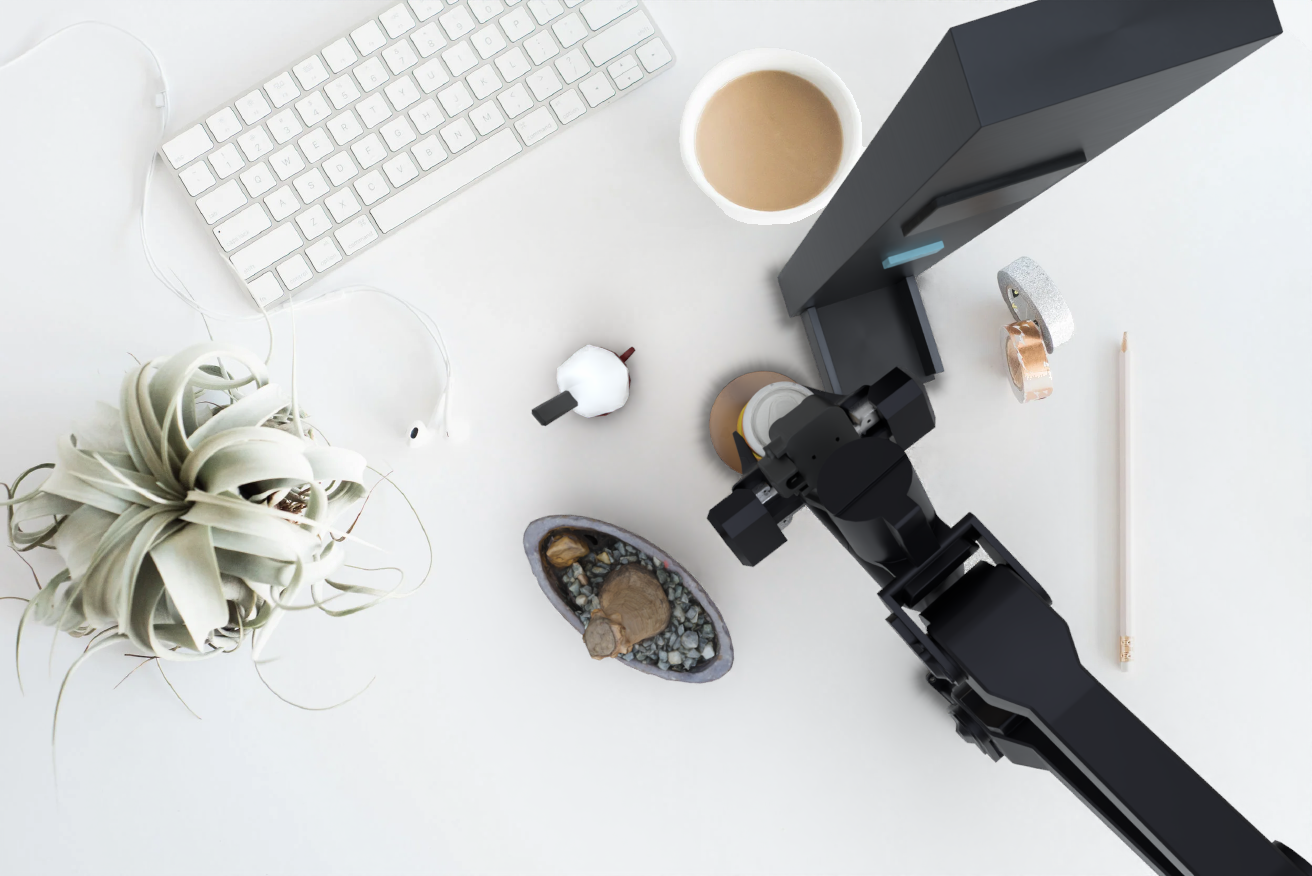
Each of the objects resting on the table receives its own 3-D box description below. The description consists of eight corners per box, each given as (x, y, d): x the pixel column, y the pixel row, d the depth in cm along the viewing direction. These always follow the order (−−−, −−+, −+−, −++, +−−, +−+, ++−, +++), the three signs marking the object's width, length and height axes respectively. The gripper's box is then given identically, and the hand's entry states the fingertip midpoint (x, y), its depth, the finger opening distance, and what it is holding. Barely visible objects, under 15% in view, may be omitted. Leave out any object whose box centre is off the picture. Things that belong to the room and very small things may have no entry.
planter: (536, 509, 77) (493, 531, 57) (716, 496, 77) (736, 514, 57) (548, 669, 77) (509, 747, 57) (728, 656, 77) (752, 729, 57)
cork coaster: (766, 501, 77) (766, 501, 77) (686, 428, 77) (687, 428, 77) (838, 421, 77) (839, 421, 77) (759, 349, 77) (760, 348, 77)
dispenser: (943, 376, 77) (1362, 271, 31) (820, 415, 77) (1058, 367, 31) (899, 238, 77) (1252, -68, 31) (776, 276, 77) (949, 27, 31)
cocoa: (631, 338, 77) (626, 318, 65) (652, 402, 77) (651, 393, 65) (534, 371, 77) (511, 357, 65) (556, 434, 77) (537, 432, 65)
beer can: (739, 463, 77) (748, 465, 62) (734, 397, 77) (741, 383, 62) (805, 458, 76) (830, 459, 61) (800, 392, 76) (823, 376, 61)
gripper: (967, 374, 53) (826, 274, 64) (732, 554, 52) (633, 422, 64) (994, 470, 60) (864, 366, 72) (790, 627, 60) (692, 498, 71)
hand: (766, 411), depth 69 cm, fingers closed on beer can, 6 cm apart
